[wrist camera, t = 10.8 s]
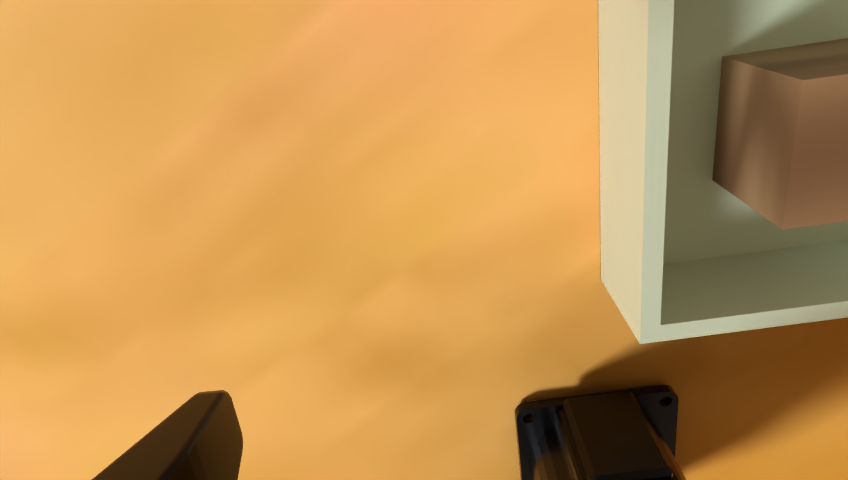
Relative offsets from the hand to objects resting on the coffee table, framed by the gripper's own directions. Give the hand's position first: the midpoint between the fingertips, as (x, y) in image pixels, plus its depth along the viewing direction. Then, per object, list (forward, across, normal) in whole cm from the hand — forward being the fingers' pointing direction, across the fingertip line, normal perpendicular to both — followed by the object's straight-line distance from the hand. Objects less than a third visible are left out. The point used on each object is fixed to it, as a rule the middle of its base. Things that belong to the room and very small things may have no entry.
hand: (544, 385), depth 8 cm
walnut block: (+12, -10, 0) cm, 15 cm away
